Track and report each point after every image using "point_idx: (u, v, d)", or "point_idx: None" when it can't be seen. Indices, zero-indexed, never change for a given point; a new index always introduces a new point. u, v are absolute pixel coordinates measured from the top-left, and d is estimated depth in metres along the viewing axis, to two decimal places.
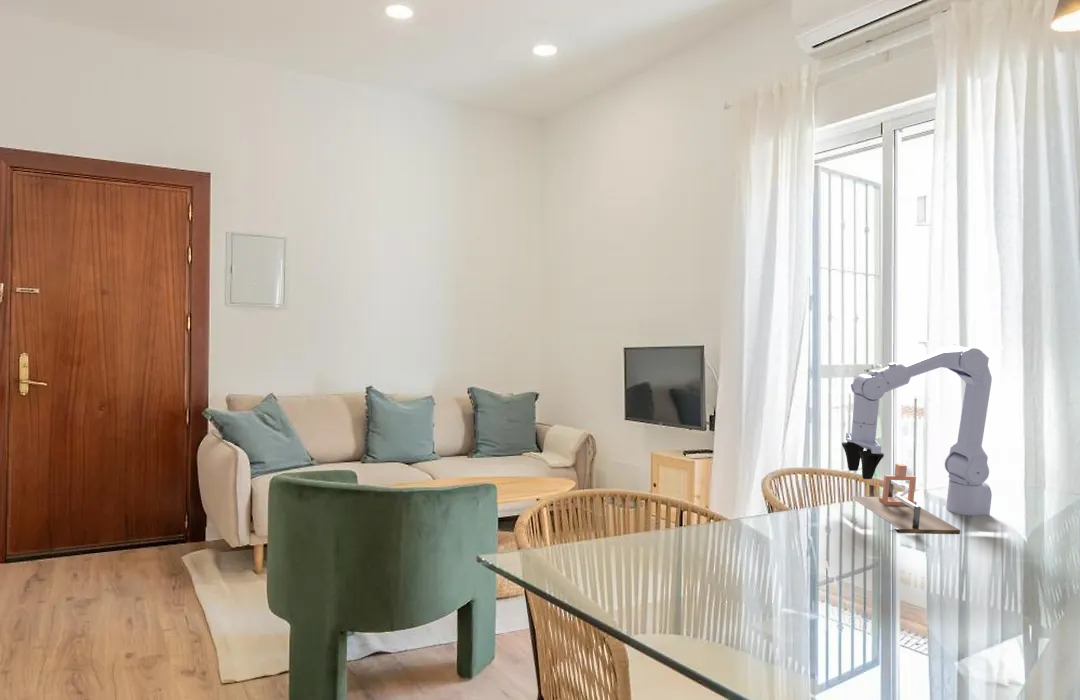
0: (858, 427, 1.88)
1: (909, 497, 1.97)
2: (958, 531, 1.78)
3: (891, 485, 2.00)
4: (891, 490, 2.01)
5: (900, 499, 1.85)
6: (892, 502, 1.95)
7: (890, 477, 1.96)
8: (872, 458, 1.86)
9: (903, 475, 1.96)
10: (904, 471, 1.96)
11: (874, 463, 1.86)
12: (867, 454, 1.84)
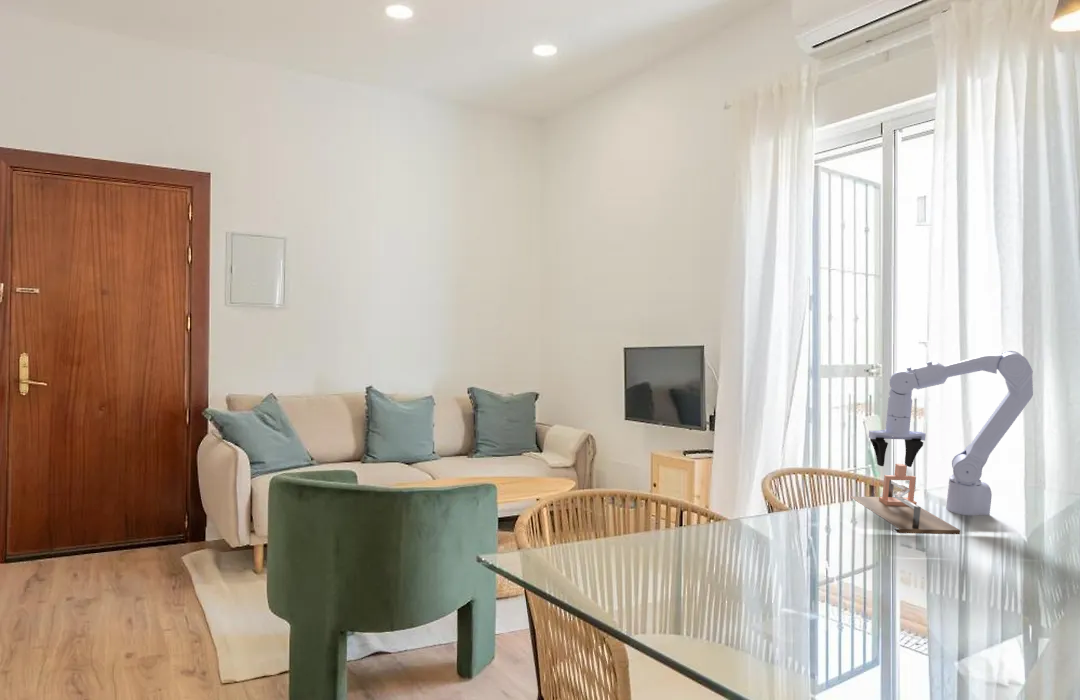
0: None
1: (909, 497, 1.97)
2: (958, 531, 1.78)
3: (891, 485, 2.00)
4: (891, 490, 2.01)
5: (900, 499, 1.85)
6: (892, 502, 1.95)
7: (890, 477, 1.96)
8: None
9: (903, 475, 1.96)
10: (904, 471, 1.96)
11: None
12: (871, 438, 2.01)
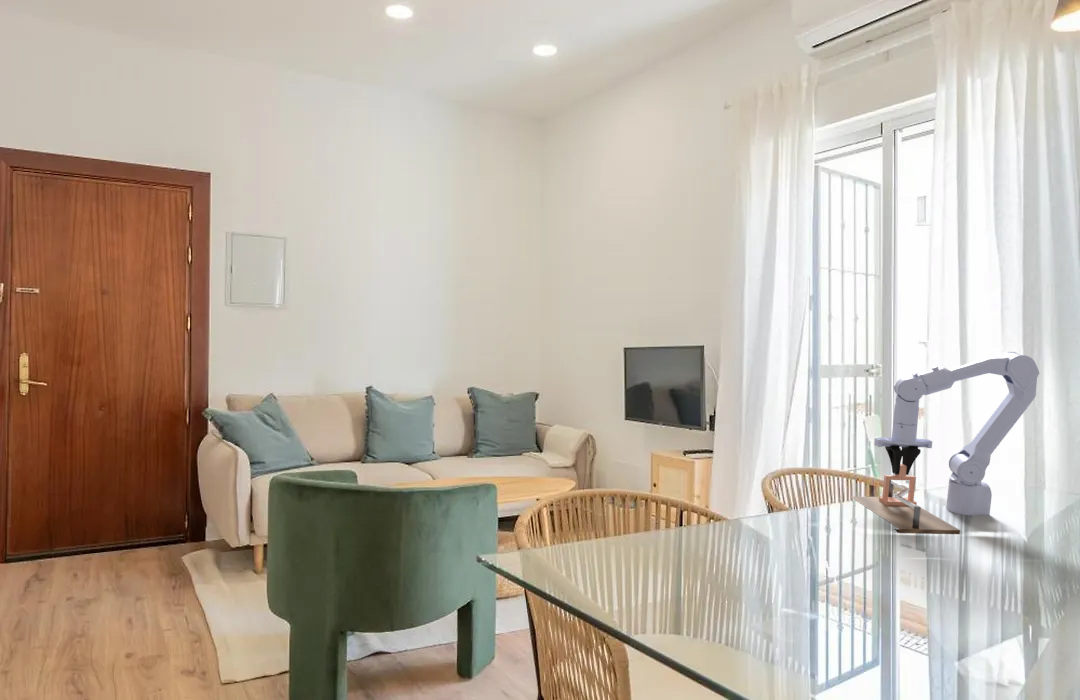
0: None
1: (909, 497, 1.97)
2: (958, 531, 1.78)
3: (891, 485, 2.00)
4: (891, 490, 2.01)
5: (900, 499, 1.85)
6: (892, 502, 1.95)
7: (890, 477, 1.96)
8: None
9: (903, 475, 1.96)
10: (904, 471, 1.96)
11: None
12: (886, 446, 1.97)
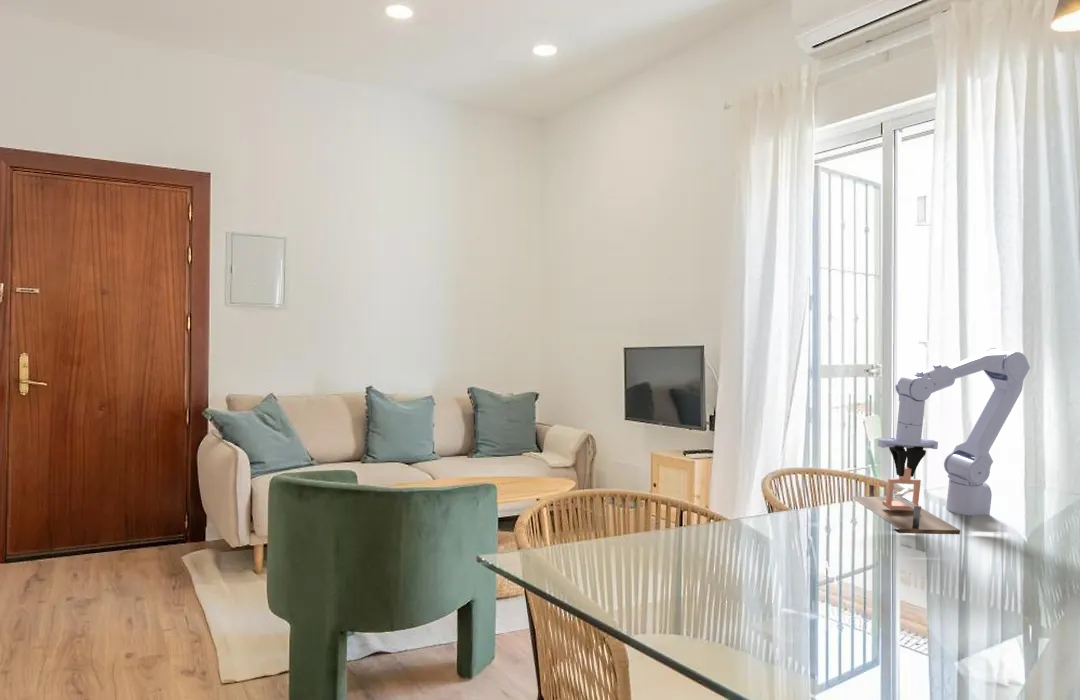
0: None
1: (914, 501, 1.91)
2: (958, 531, 1.78)
3: None
4: None
5: (900, 499, 1.85)
6: (896, 506, 1.89)
7: (894, 480, 1.89)
8: None
9: (908, 478, 1.89)
10: (909, 474, 1.89)
11: None
12: (890, 447, 1.91)
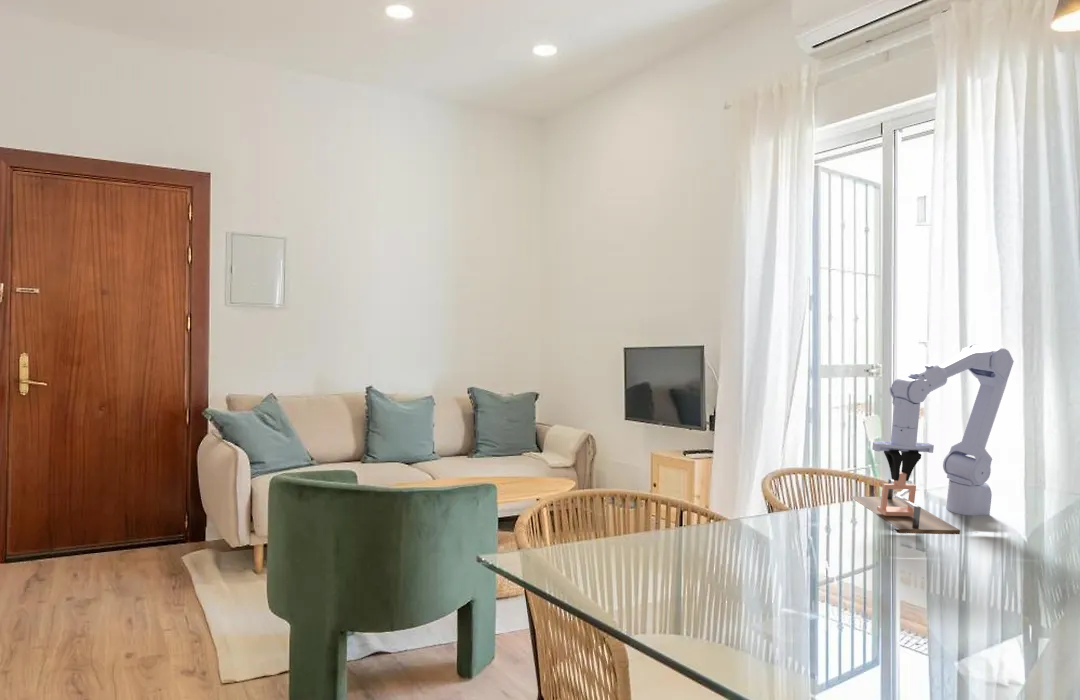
0: None
1: (909, 507, 1.87)
2: (958, 531, 1.78)
3: None
4: (891, 490, 2.01)
5: (900, 499, 1.85)
6: (891, 512, 1.85)
7: (888, 486, 1.85)
8: None
9: (903, 484, 1.85)
10: (904, 479, 1.85)
11: None
12: (884, 451, 1.87)
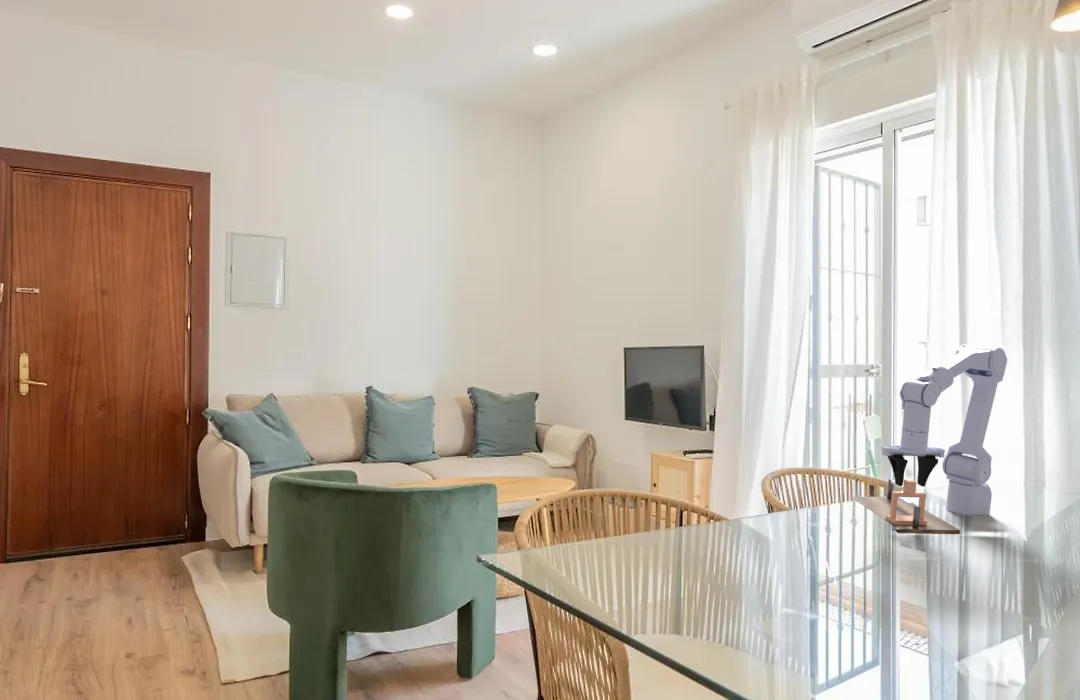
0: None
1: None
2: (958, 531, 1.78)
3: (891, 485, 2.00)
4: (891, 490, 2.01)
5: (900, 499, 1.85)
6: (900, 521, 1.80)
7: (898, 494, 1.81)
8: None
9: (912, 492, 1.81)
10: (913, 487, 1.80)
11: None
12: (888, 455, 1.82)
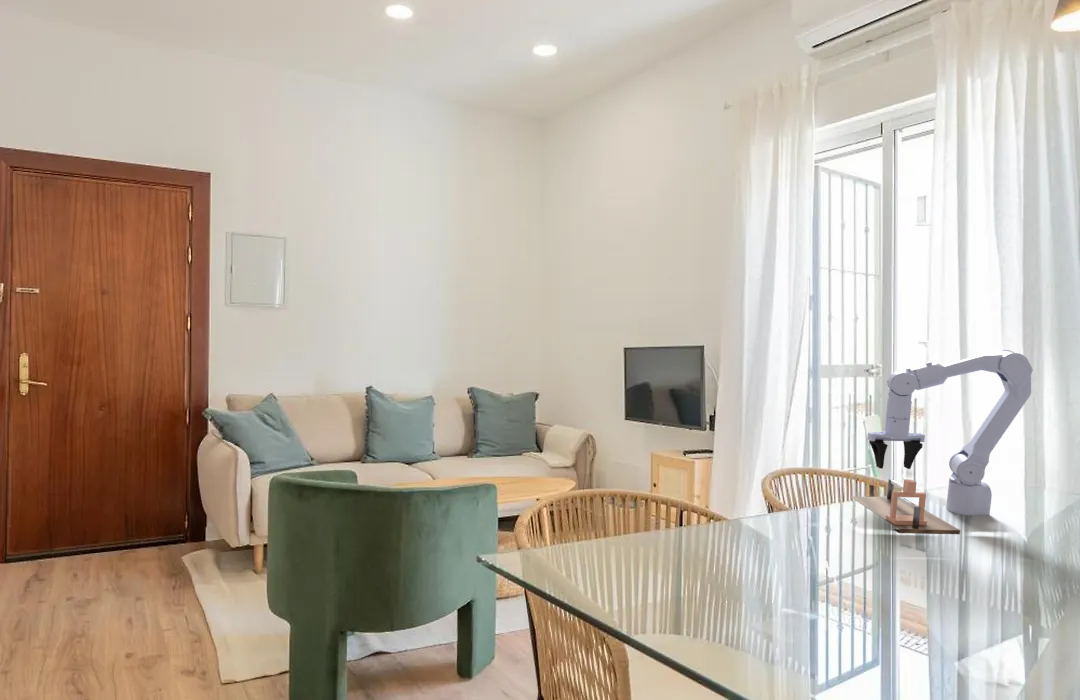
0: None
1: None
2: (958, 531, 1.78)
3: (891, 485, 2.00)
4: (891, 490, 2.01)
5: (900, 499, 1.85)
6: (900, 521, 1.80)
7: (898, 494, 1.81)
8: None
9: (912, 492, 1.81)
10: (913, 487, 1.80)
11: None
12: (870, 440, 1.98)
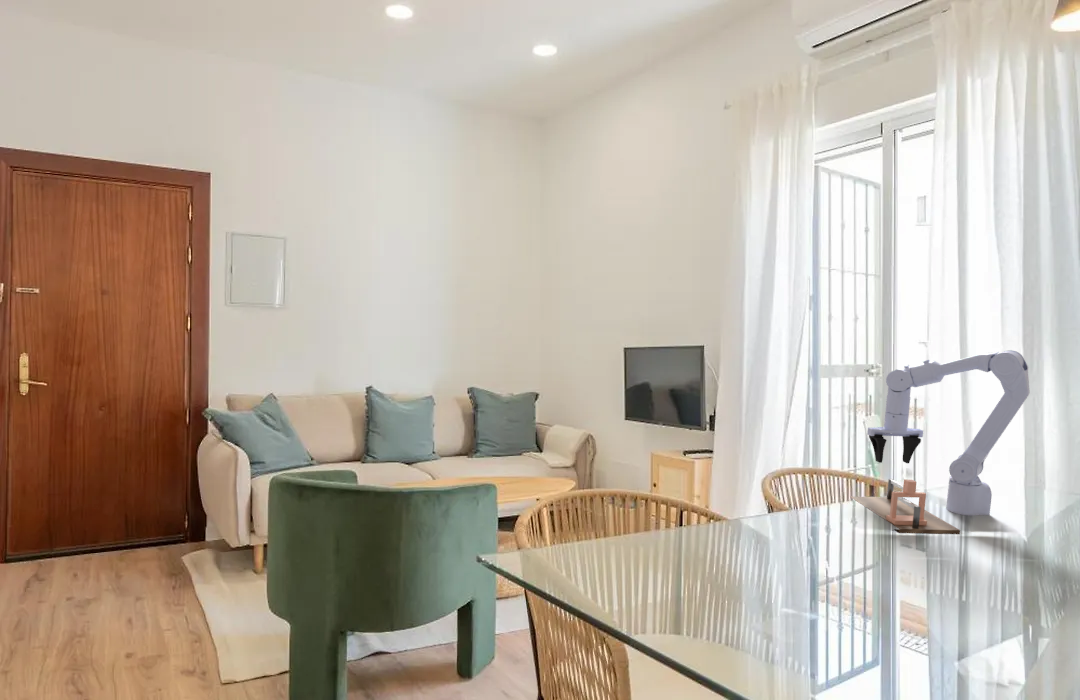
0: None
1: None
2: (958, 531, 1.78)
3: (891, 485, 2.00)
4: (891, 490, 2.01)
5: (900, 499, 1.85)
6: (900, 521, 1.80)
7: (898, 494, 1.81)
8: None
9: (912, 492, 1.81)
10: (913, 487, 1.80)
11: None
12: (869, 435, 2.04)
